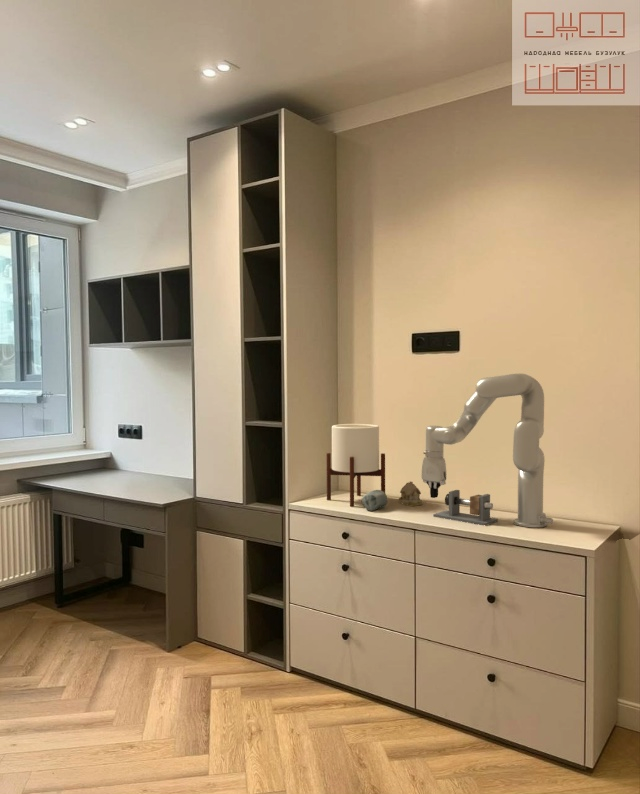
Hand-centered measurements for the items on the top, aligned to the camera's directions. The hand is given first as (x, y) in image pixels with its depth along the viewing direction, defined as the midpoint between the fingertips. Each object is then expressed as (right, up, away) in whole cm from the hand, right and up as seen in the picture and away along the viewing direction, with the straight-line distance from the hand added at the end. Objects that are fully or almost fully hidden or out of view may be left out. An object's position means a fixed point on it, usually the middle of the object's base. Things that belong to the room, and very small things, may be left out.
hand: (434, 497), depth 266 cm
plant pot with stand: (-32, -7, +29) cm, 44 cm away
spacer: (+15, -4, -14) cm, 21 cm away
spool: (-24, -7, +11) cm, 28 cm away
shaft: (+12, -3, -11) cm, 17 cm away
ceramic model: (-6, -7, +24) cm, 25 cm away
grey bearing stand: (+11, -7, -10) cm, 16 cm away
